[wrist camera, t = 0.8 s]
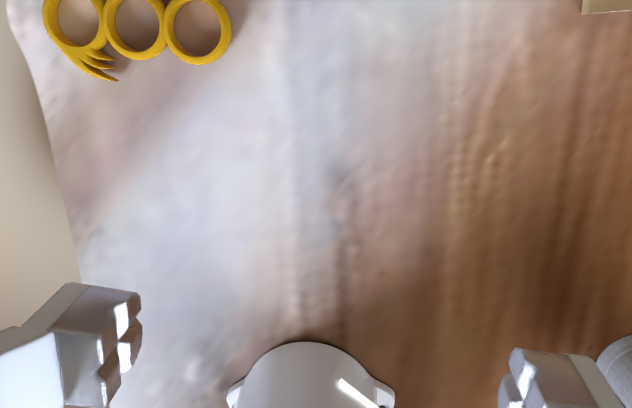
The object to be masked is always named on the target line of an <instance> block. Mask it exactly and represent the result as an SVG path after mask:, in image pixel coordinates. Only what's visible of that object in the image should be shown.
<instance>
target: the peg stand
mask: <svg viewBox="0 0 632 408" xmlns="http://www.w3.org/2000/svg"><path fill="white" fill-rule="evenodd" d="M622 11H632V0H583V3H582V13H581V14H582V15H583V14H596V13H609V12H622Z"/></svg>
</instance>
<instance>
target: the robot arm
mask: <svg viewBox="0 0 632 408" xmlns="http://www.w3.org/2000/svg"><path fill="white" fill-rule="evenodd" d="M140 310H141V300H140V296H139V295H138V294H137V293H136V292H130V291H124V290H118V289H112V288H106V287H100V286H91V285H87V284H80V283H73V282H71V283H67V284H65V285H64V286H62V287H61V288H60V289H59V290H58V291H57V292H56V293H55V294H54V295H53V296H52V297H51V298H50V299H49V300H48V301H47V302H46V303H45V304H44V305H43V306H42V307H41V308H40V309H39V310H38V311H36V312H35V313H34V314H33V316H31V317H30V318H29V319H28V320H27V321H26V322H25V323H24V324H23V325H22V326H21V327H16V326H12V327H10V328H7V329H4V330H2V331H0V408H62V407H64V404H68V405H76V406H84V407H93V408H107V406H108V404H109V403H110V401H111V400H112V398H113V396H114V395H115V393H116V392H117V390H118V388H119V387H120V385H121V376H120V374H122V373H124V372H126V371H127V370H129V369H131V367H132V366H133V364H134V362H135V360H136V359H137V356H138V353H139V350H140V347H141V341H142V325H141V324H140V322H139V321H138V320H137V318H136V316H137V314H138V313H139V312H140ZM508 364H509V367H510V370H511V372H510V373H508V374H507V375H506V376H504V377H503V378H502V379H501V382H500V386H499V389H498V399H497V405H498V408H624V406H623V405H622V403H621V402H620V400H619V398H618V397H617V395H616V394H615V392H614V391H613V389H612V388H611V386H610V385H609V383H608V382H607V380H606V379H605V377H604V375H603V374H602V372H601V371H600V369H599V368H598V366H597V365H596V363H595V362H594V360H593V359H591V358H590V357H588V356H582V355H574V354H565V353H563V354H559V353H552V352H544V351H537V350H530V349H523V348H516V347H515V348H514V350H513V351H512V352H511V354H510V357H509V359H508ZM394 402H395V393H394V391H393V390H392V389H391V388H390V387H388V386H387V385H385V384H383V383H381V382H380V381H378V380H376V379H374V378H372V377H371V376H370V375H369V374H368V373H367V372H366V370H365V369H364V368H363V367H362V366H361V365H360V364H359V363H358V362H357V361H356V360H355V359H354V358H353V357H351V356H350V355H348V354H347V353H345V352H343V351H341V350H339V349H337V348H335V347H332V346H329V345H326V344H321V343H316V342H295V343H289V344H285V345H282V346H279V347H277V348H274V349H272V350H271V351H269V352H267V353H266V354H265V355H263V356H262V357H261V358H260V359H259V360H258V361H257V362H256V363H255V365H254V366H253V368H252V369H251V371H250V372H249V374H248V375H247V376H246V377H245V378H244V379H242V380H241V381H239V382H237V383H236V384H234V385H233V386H232V387H231V388H230V389H229V390H228V394H227V403H228V405H229V408H393V407H394ZM381 405H383V406H384V407H380V406H381Z"/></svg>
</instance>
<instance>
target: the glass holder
mask: <svg viewBox="0 0 632 408" xmlns="http://www.w3.org/2000/svg"><path fill="white" fill-rule="evenodd" d="M596 365H597V366H598V368H599V369H600V371H601V372H602V374H603V375H604V377H605V379H606V380H607V382H608V383H609V385H610V386H611V388H612V389H613V391H614V392H615V394H616V395H617V397H618V398H619V400H620V402H621V403H622V405H623V406H624V408H632V335H628V336H626V337H623V338H620V339H619V340H617V341H615V342H613V343H612V344H611V345H609V346H608V347H607V348H606V349H605V350H604V351H603V352H602V353H601V355H600V356H599V358H598V360H597V362H596Z"/></svg>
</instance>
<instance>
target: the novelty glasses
mask: <svg viewBox="0 0 632 408" xmlns="http://www.w3.org/2000/svg"><path fill="white" fill-rule="evenodd" d="M60 1H61V0H44V3H43V9H42V15H43V22H44V25H45V28H46V30H47V32H48V34H49V36H50V37H51V38H52V40H53V41H54V42H55V43H56V44H57V45H58V46H59V48H60V49H61V50H62V51H63V52H64V54H65V55H66V56H67V57H68V58H69V59H70V60H71V61H72V62H73V63H74V64H75V65H76V66H77V67H79V68H80V69H81V70H83V71H84V72H86V73H88V74H90V75H92V76H95V77H98V78H101V79H105V80H111V81H119V80H117V79H115V78H113V77H111V76H109V75H107V74H106V73H104V72H102V71H101V70H99V69H110V68H116V67H112V66H109V65H106V64H104V63H102V62H101V61H99V60H98V59H100V60H117V59H115V58H112V57H110V56H107V55H105V54H104V53H102V51H101V49H102V48H103V47H104V46H105V45H106V43H107V42H108V41H109V42H110V44H111V45H112V46H113V47H114V48H115V49H116V50H117V51H118V52H119V53H121V54H122V55H124V56H126V57H128V58H131V59H136V60H144V59H150V58H153V57H155V56H157V55H158V54H160V53H161V52H162V51H163V50H164V48H165V47H166V46H167V45H168V47H169V48H170V49H171V51H172V52H173V53H174V54H175V55H176V56H177V57H179V58H180V59H182V60H183V61H185V62H188V63H191V64H197V65H202V64H208V63H211V62H213V61H215V60H217V59H218V58H220V57H221V56H222V55H223V54H224V52H225V51H226V49H227V48H228V46H229V43H230V40H231V32H232V30H231V22H230V18H229V16H228V13H227V11H226V10H225V8H224V6H223V5H222V4H221V3H220V2H219V0H201V1H204V2H205V3H207V4H208V5H210V6H211V7H212V8H213V9H214V11H215V12H216V14H217V16H218V18H219V20H220V24H221V37H220V40H219V43H218V45H217V47H216V48H215V49H214V50H213V51H212V52H211V53H210V54H208V55H206V56H203V57H199V56H194V55H192V54H190V53H188V52H187V51H185V50H184V49H183V48H182V47H181V46H180V44H179V43H178V41H177V39H176V36H175V33H174V20H175V16H176V14H177V12H178V10H179V9H180V8H181V7H182V6H183V5H184V4H186V3H188V2H189V1H193V0H171V1H170V2H169V4H168V5H167V7H165V5H164V4H163V2H162V1H161V0H147V1H148V2H149V3H150V4H151V5H152V6H153V8H154V9H155V11H156V13H157V15H158V19H159V26H160V28H159V35H158V38H157V40H156V42H155V43H154V44H153V46H152V47H150V48H149V49H147V50H146V51H143V52H140V51H136V50H133V49H131V48H130V47H128V46H127V45H126V44H125V43H124V42H123V41H122V40H121V38H120V37H119V35H118V33H117V30H116V26H115V14H116V11H117V8H118V7H119V5H120V3H121V2H122V1H123V0H107V1H106V2H105V1H104V0H91V2H92V3H93V4H94V6H95V8H96V10H97V13H98V17H99V29H98V33H97V35H96V37H95V39H94V40H93V41H92V42H91V43H89V44H88V45H86V46H83V47H82V46H79V45H76V44H74V43H73V42H71V41H70V40H69V39H67V38H66V36H65V35H64V34H63V32H62V31H61V29H60V26H59V24H58V19H57V9H58V5H59V3H60ZM98 68H99V69H98Z"/></svg>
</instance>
